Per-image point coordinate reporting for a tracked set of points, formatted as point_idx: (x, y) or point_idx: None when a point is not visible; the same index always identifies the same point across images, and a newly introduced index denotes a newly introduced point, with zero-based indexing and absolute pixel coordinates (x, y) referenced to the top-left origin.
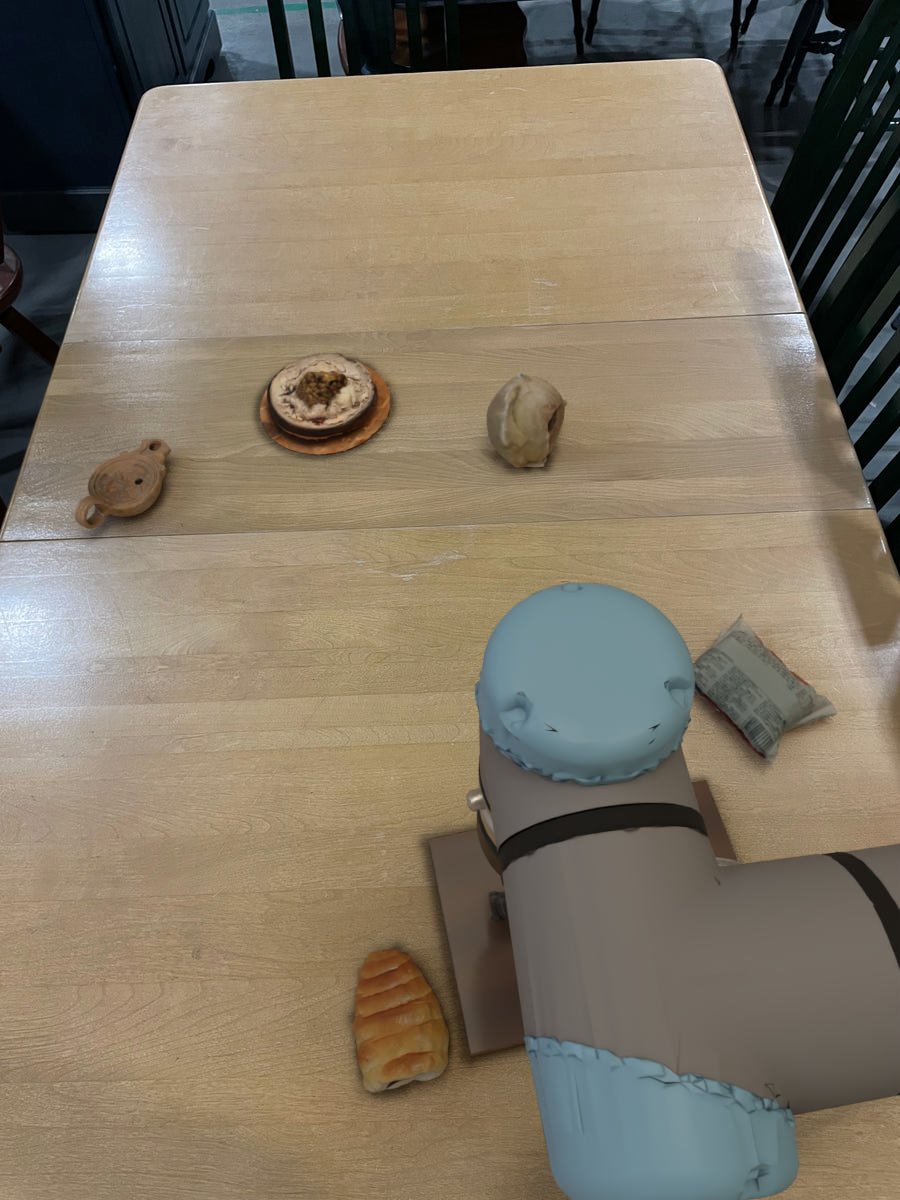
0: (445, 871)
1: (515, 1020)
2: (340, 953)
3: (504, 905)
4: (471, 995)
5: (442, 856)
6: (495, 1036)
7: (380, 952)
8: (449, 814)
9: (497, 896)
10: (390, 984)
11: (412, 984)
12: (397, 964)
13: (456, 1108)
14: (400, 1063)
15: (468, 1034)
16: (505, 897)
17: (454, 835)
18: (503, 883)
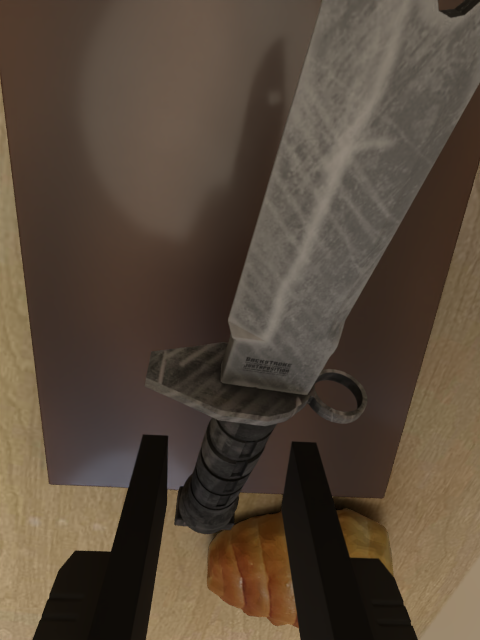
0: (110, 472)
1: (369, 436)
2: (193, 585)
3: (213, 526)
4: None
5: (83, 472)
6: (377, 465)
7: (211, 579)
8: (9, 427)
9: (189, 526)
10: (263, 596)
11: (272, 567)
12: (237, 575)
13: (424, 507)
14: None
15: (358, 496)
16: (196, 521)
17: (47, 447)
18: (164, 515)
